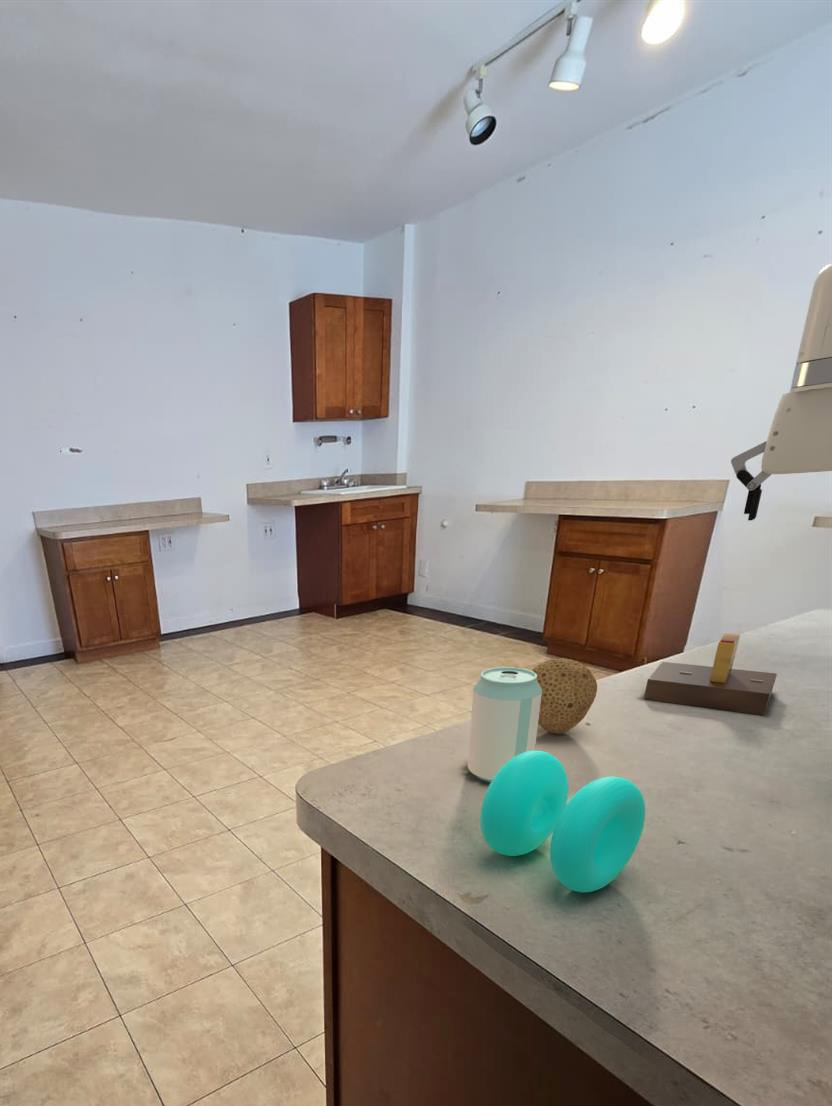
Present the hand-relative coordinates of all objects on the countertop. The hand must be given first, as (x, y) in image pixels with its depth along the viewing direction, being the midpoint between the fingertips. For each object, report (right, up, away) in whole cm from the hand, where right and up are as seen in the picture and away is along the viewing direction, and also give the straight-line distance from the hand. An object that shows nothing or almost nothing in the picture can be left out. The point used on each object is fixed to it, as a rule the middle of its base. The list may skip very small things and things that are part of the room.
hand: (794, 518), depth 89 cm
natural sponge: (-37, -31, -5) cm, 48 cm away
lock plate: (-10, -25, +2) cm, 27 cm away
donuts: (-49, -44, -32) cm, 73 cm away
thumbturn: (-10, -22, +1) cm, 24 cm away
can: (-47, -36, -15) cm, 61 cm away
